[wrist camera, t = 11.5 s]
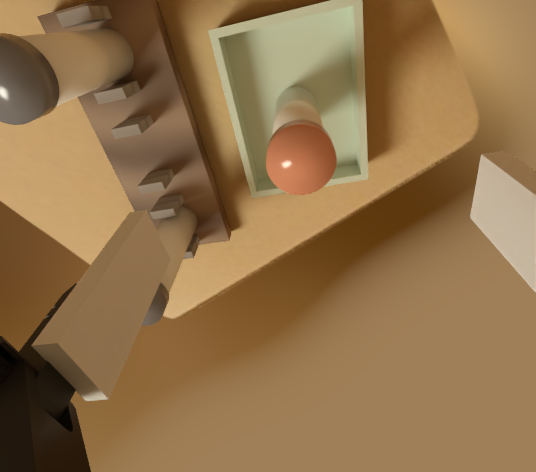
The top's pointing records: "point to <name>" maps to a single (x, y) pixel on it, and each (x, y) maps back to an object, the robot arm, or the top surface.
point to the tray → (296, 82)
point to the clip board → (148, 119)
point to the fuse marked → (299, 145)
